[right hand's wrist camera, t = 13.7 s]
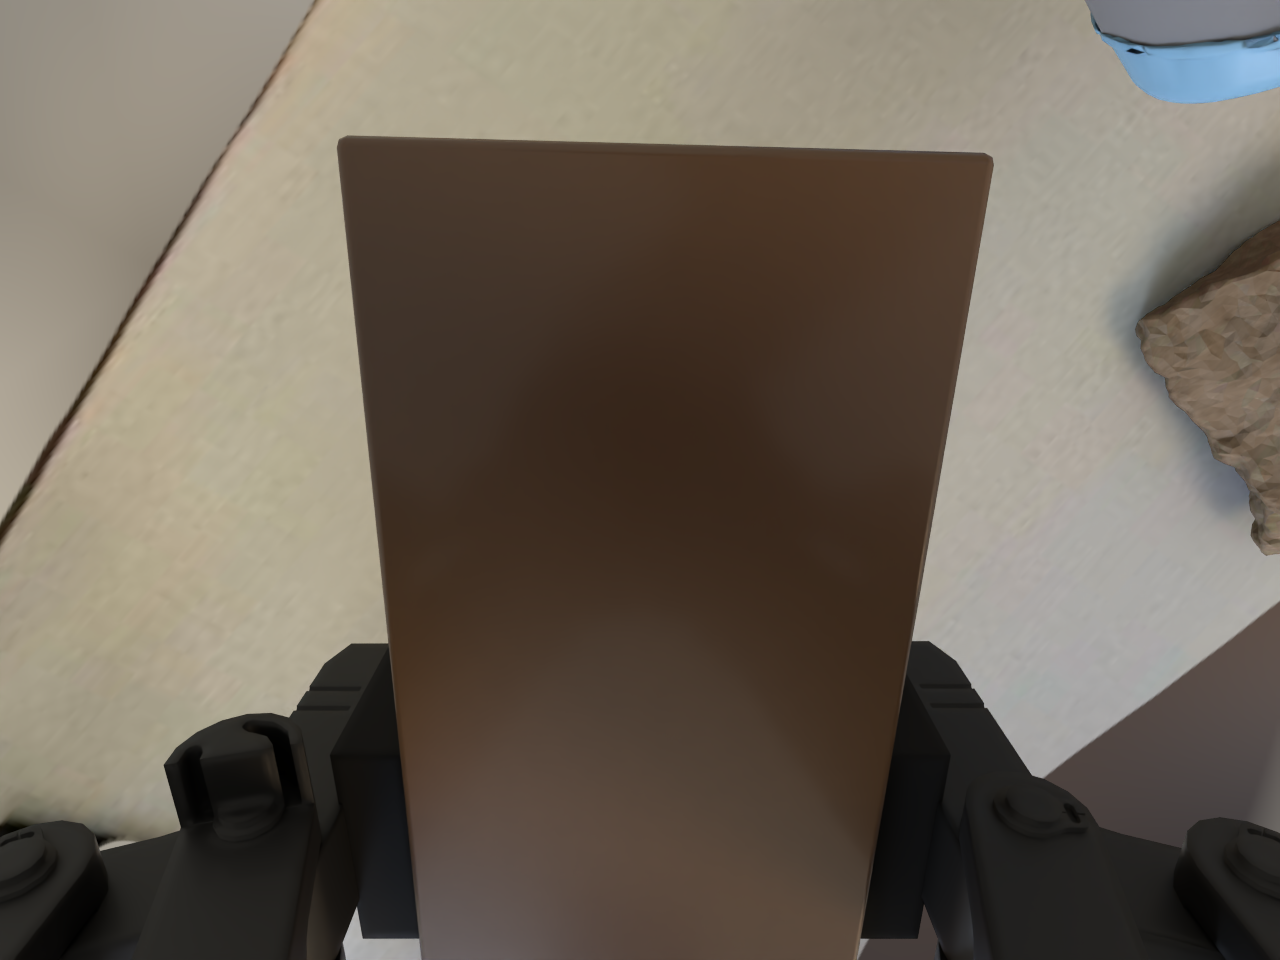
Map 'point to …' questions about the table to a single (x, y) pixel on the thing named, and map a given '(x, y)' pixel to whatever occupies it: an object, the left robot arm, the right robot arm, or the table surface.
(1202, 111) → the table surface
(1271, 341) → the stone
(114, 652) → the table surface
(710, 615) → the beam
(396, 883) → the right robot arm
